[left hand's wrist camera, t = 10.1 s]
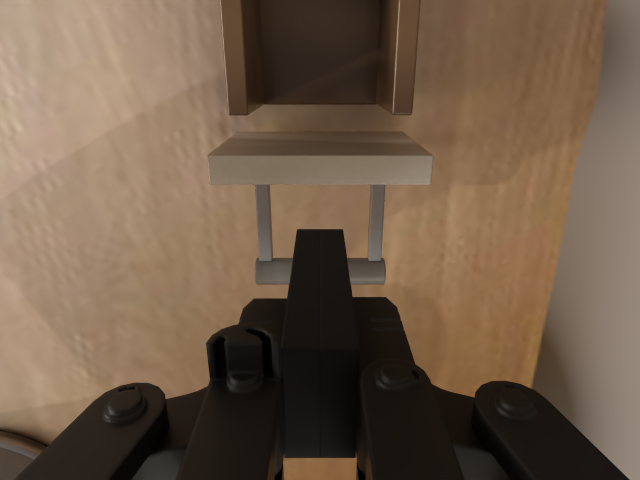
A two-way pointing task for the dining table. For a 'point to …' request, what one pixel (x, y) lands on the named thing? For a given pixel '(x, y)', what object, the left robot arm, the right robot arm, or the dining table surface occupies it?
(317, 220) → the dining table surface
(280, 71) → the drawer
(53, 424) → the dining table surface
